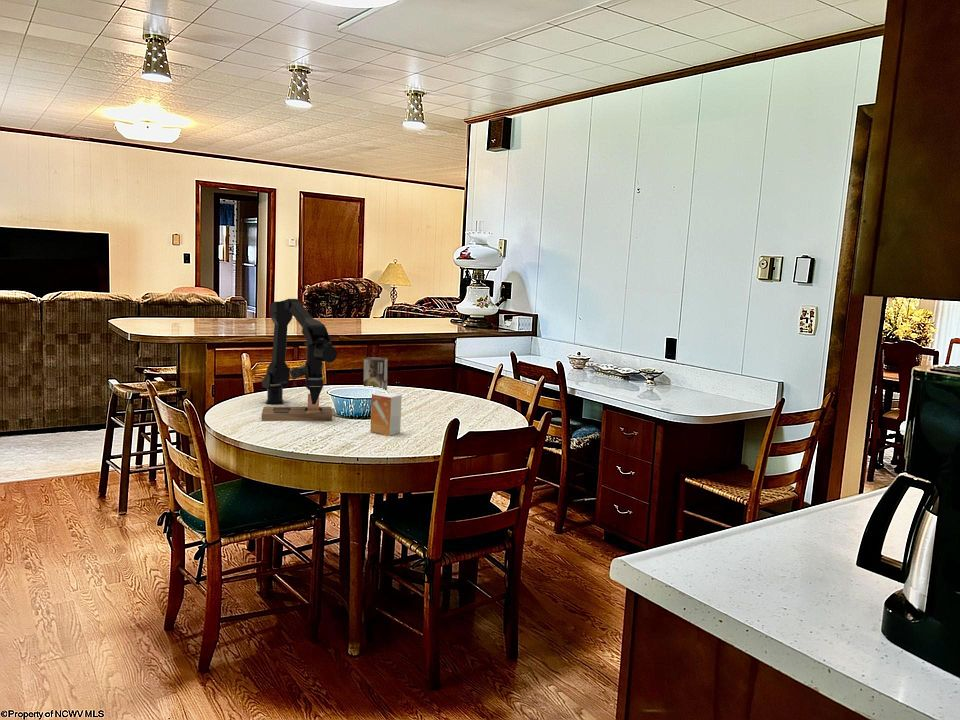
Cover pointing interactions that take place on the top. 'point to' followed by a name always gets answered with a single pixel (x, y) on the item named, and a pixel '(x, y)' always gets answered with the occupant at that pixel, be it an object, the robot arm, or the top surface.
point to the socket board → (296, 414)
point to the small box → (386, 413)
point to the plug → (312, 406)
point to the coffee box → (375, 372)
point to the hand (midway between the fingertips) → (313, 401)
